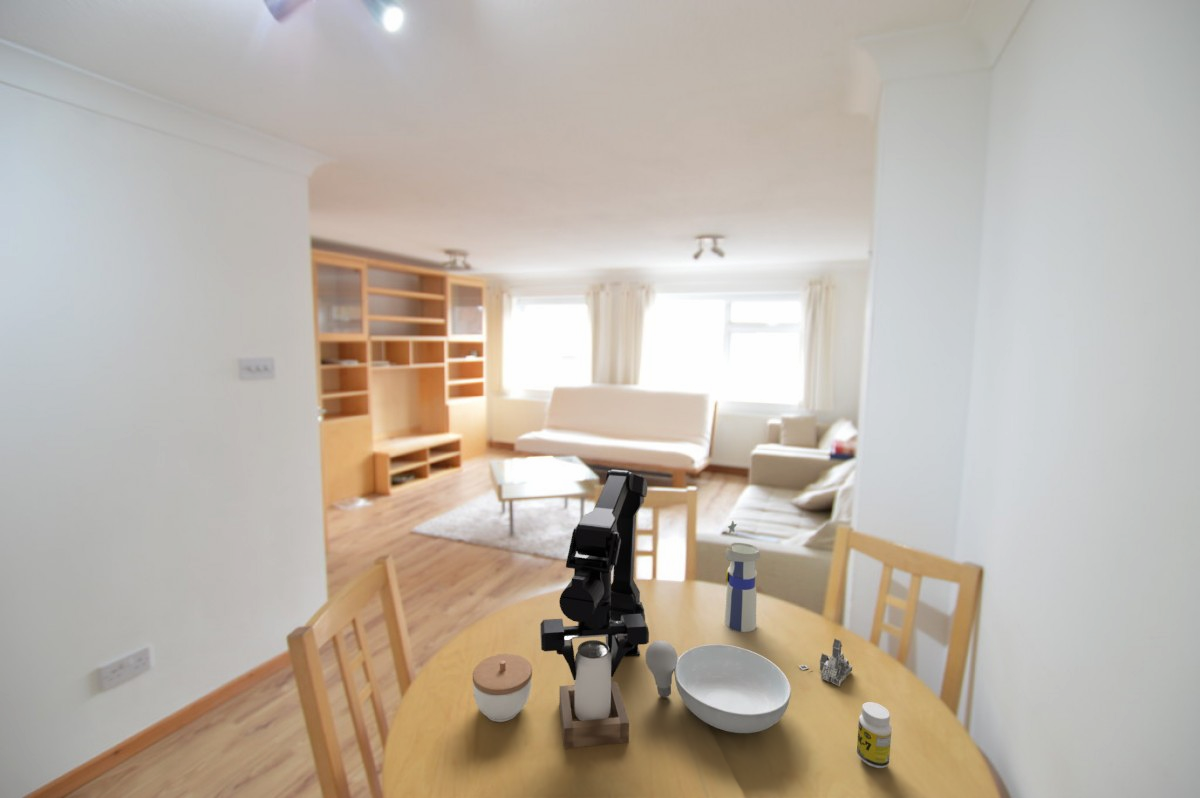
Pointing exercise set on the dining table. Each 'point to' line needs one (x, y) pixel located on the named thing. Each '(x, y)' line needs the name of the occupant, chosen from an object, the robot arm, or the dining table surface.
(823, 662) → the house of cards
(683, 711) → the dining table surface
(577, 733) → the sleeve block
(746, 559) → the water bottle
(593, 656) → the can
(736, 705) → the serving bowl
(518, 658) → the lidded jar
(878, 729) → the supplement bottle
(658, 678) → the lightbulb
